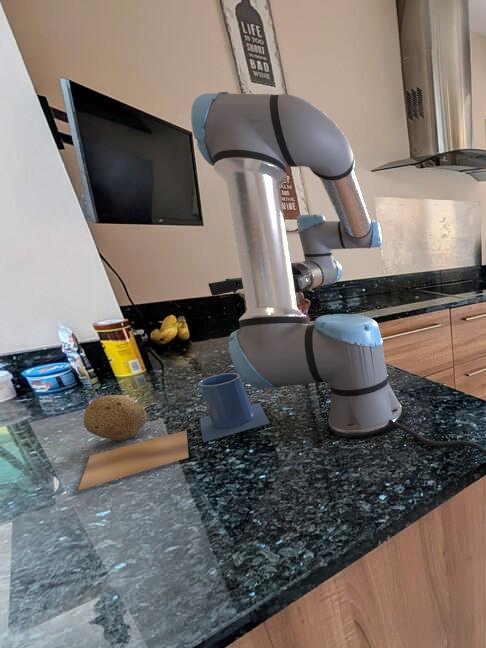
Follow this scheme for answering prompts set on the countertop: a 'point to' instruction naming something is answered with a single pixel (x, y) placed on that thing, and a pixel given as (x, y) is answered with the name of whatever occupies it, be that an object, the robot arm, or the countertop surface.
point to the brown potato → (114, 417)
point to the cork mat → (134, 459)
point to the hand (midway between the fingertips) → (237, 289)
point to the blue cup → (226, 400)
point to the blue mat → (213, 433)
